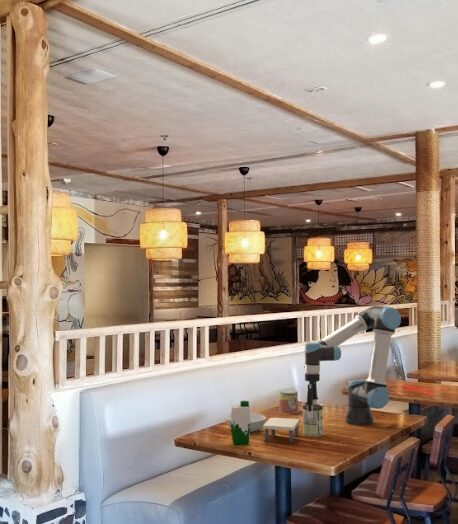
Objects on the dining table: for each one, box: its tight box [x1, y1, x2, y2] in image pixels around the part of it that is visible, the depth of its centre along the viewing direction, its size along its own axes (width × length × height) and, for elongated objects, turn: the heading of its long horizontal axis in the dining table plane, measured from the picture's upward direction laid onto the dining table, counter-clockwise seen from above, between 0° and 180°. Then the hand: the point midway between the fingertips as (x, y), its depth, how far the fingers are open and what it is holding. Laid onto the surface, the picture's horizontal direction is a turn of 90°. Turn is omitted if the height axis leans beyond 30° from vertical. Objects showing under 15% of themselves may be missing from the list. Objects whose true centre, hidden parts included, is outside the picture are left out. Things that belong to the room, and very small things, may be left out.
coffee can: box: [302, 404, 324, 437], centre depth 310 cm, size 10×10×14 cm
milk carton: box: [230, 400, 251, 446], centre depth 293 cm, size 9×9×20 cm
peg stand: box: [262, 417, 301, 445], centre depth 301 cm, size 15×18×8 cm
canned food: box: [278, 389, 299, 414], centre depth 365 cm, size 11×11×12 cm
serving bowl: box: [225, 413, 267, 433], centre depth 319 cm, size 21×21×7 cm
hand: (312, 415), depth 310 cm, fingers open, 13 cm apart
